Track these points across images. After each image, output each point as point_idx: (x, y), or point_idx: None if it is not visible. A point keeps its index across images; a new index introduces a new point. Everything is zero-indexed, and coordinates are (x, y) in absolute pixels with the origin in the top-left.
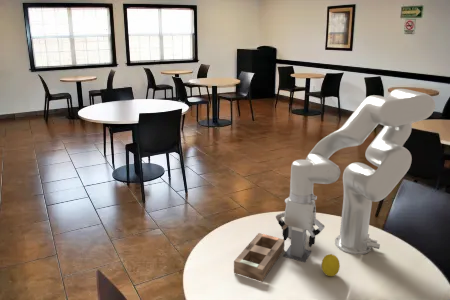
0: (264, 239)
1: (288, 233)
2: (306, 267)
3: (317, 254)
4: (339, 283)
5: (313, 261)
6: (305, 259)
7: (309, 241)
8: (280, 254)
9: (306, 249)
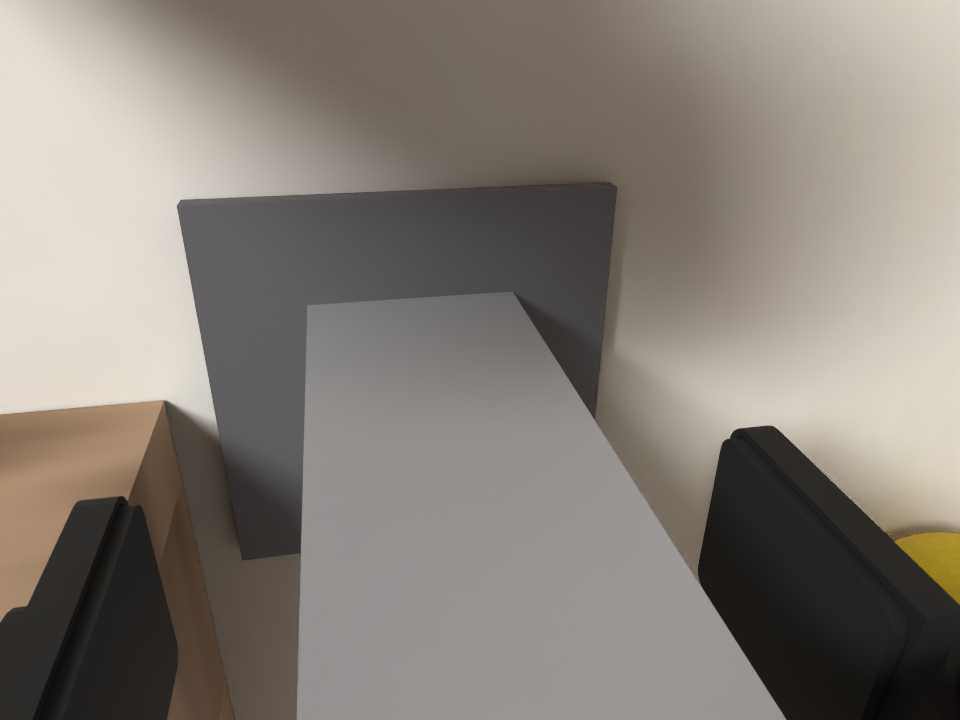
0: None
1: (117, 570)
2: None
3: (707, 210)
4: None
5: (674, 409)
6: None
7: (770, 680)
8: (190, 558)
9: (517, 194)
